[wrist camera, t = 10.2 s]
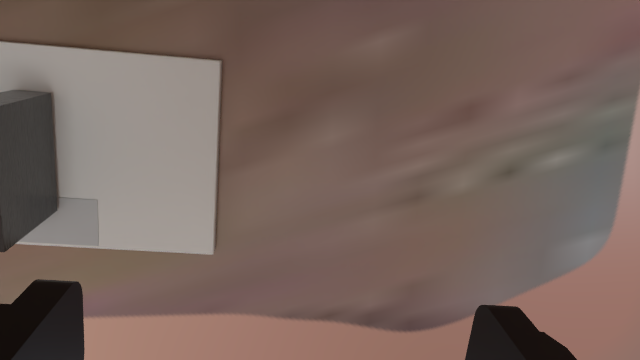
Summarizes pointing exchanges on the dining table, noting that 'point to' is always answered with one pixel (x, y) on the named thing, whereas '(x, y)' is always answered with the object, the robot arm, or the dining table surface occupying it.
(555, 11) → the dining table surface
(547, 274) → the dining table surface
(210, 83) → the gauge base
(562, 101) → the dining table surface
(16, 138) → the tall dark grey box
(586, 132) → the dining table surface
